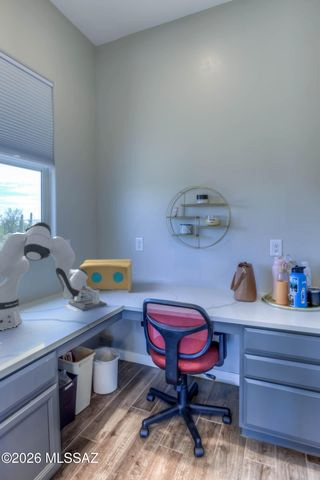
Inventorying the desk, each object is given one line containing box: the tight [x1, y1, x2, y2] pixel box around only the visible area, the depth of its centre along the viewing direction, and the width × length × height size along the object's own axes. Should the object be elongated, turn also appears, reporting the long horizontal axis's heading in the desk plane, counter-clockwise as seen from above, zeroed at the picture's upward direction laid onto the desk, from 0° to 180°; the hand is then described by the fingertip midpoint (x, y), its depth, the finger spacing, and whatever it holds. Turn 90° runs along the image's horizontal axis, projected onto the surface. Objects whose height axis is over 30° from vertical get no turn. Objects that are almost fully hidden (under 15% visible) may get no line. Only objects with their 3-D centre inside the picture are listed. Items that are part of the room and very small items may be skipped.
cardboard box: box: [79, 258, 133, 294], centre depth 234 cm, size 40×26×24 cm, turn 92°
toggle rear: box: [73, 292, 82, 302], centre depth 196 cm, size 3×4×11 cm
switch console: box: [63, 295, 108, 313], centre depth 193 cm, size 22×22×3 cm
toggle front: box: [92, 287, 100, 304], centre depth 191 cm, size 3×4×11 cm
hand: (93, 296), depth 189 cm, fingers closed
